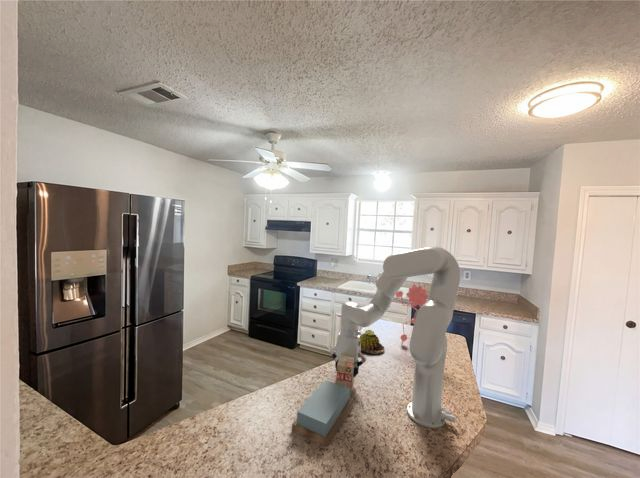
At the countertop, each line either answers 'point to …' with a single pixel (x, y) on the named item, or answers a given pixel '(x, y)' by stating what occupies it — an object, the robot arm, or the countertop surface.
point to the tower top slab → (323, 407)
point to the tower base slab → (325, 440)
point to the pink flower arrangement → (417, 298)
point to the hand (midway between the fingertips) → (346, 372)
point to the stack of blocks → (345, 372)
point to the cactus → (370, 343)
